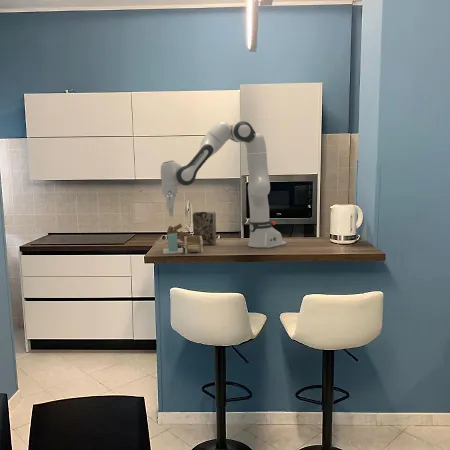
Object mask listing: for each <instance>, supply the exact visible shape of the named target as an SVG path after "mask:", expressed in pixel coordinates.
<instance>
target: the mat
mask: <svg viewBox="0 0 450 450" xmlns="http://www.w3.org/2000/svg"><path fill="white" fill-rule="evenodd" d="M183 253H184V247H178V251H169V249H168V248H163V250H162V254H163V255H169V254H183Z"/></svg>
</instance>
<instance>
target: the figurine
mask: <svg viewBox="0 0 450 450" xmlns="http://www.w3.org/2000/svg"><path fill="white" fill-rule="evenodd" d="M182 228H183V225H182V223H179V224H177V225H175V226H174V227H173V226H172V225H169V226H168V228H167V230H166V231H167V232H166V235H168V234H176V233H177V240H180V241H181V242H183V243H185V240H184V236H193V235H192V234H191V233H189V232H188V231H182V230H180V229H182ZM179 230H180V231H179Z"/></svg>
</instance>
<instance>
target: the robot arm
mask: <svg viewBox="0 0 450 450" xmlns="http://www.w3.org/2000/svg"><path fill="white" fill-rule="evenodd" d="M229 140H230V141H233V142H234V143H235V142H236V143H243V144H244V145H245V147H246V160H247V171H248V177H249V178H248V179H249V182H248V185H247V195H248V206H249V220H250V221H249V240H248V244H247V247H250V248H268V249H269V248H275V247H279V246H282V245H287V241H285V240H283V236H282V234H281V232H280V231H278V230H277V229H275V228H274V227H273V226H275V225H276V221H271V220H270V205H269V199H268V198H269V197H268V195H269V194H270V191H271V183H270V176H269V168H268V158H267V157H268V155H267V146H266V141H265V137H264V135H263V134H261V133H257V132H256V131H255V129H254V128H253V126H252V124H251V123H249V122H247V121H245V120H243V121H238V122H236V123H233V124H230V123H228V122H227V121H224V120H220V121H218V122H216V124H215V125H213V126H212V127H211V129H210V130H209V131H207V133H206V134H205V135H204V137H203V139H201V142H200V145H199V149H198V151H197V153H196V154H195V155H194V156H193V158H192V159H191V160H190V161H189V163H188V164H186V165H182V164H181V163H179V162H176V161H175V160H168V161H165V162H162V164H161V165H160V179H161V194H162V195H163V196H164V198H166V199H165V200H166V208H167V210H168V215H169V217H173V216H174V208H175V199H176V195H177V194H179V189H178V187H179V186H178V183H179V184H181V185H182V186H191V184H193V183H194V182H195V180H196V178H197V174H198V172H199V171H200V169H201V168H202V167H203V165H204V164H205V163H206V162H207V160H208V159H210V157H213V155H215V154H216V153H217V152H219V151H220V150H221V149H222V148H223V146H224V145H225V144H226V143H227V142H228V141H229Z"/></svg>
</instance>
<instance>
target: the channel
mask: <svg viewBox="0 0 450 450" xmlns="http://www.w3.org/2000/svg"><path fill="white" fill-rule="evenodd" d="M183 237H184V240H185V242H184V254H185V255H188V253H196V252H197V253H198V252H199V253H200V254H202V255H203V254H204V245H203V239H202V236H194V235H192V236H183Z"/></svg>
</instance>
